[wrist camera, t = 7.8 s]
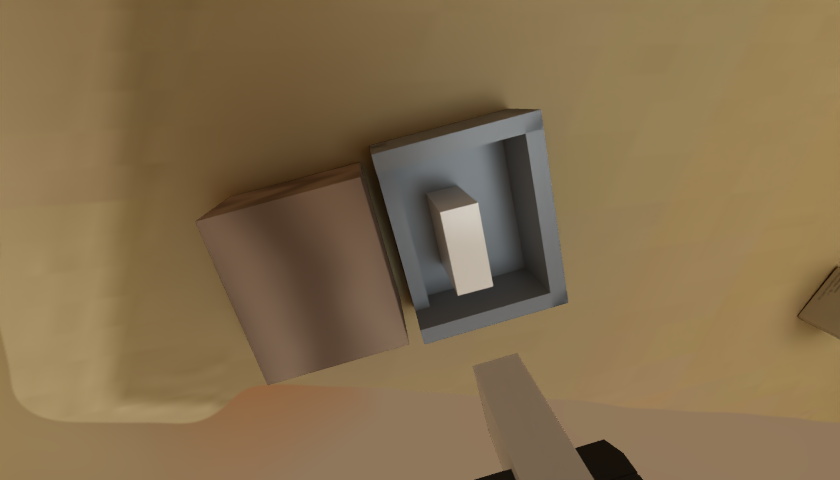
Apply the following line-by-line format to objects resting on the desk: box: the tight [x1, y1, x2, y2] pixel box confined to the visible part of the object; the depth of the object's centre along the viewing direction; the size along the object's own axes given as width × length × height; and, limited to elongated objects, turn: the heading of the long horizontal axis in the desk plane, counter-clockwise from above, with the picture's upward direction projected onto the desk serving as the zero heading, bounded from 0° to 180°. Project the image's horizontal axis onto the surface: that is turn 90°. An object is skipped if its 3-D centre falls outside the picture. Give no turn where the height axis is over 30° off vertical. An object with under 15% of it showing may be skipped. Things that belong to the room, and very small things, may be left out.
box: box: [370, 109, 568, 344], centre depth 31 cm, size 11×14×6 cm
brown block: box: [195, 162, 409, 385], centre depth 30 cm, size 10×12×7 cm
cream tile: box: [426, 186, 493, 296], centre depth 30 cm, size 6×6×2 cm
